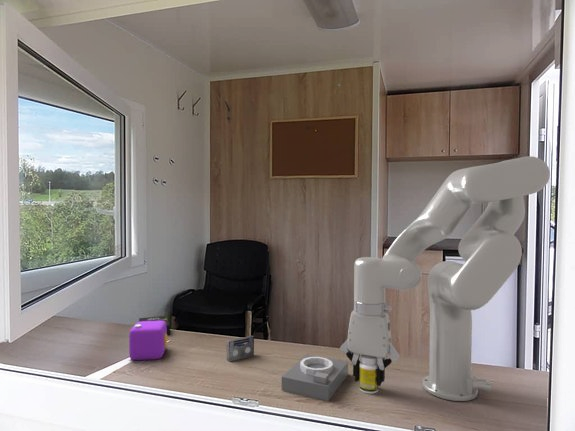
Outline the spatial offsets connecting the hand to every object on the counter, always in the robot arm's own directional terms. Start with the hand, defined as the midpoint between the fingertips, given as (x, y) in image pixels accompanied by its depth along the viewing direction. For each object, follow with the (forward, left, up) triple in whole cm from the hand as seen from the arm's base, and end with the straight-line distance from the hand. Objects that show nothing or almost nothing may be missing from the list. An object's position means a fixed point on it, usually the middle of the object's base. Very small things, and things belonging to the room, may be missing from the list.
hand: (368, 380), depth 96 cm
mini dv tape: (+39, -3, -2) cm, 39 cm away
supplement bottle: (0, 0, -2) cm, 2 cm away
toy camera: (+66, +6, -2) cm, 66 cm away
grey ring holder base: (+13, +2, -2) cm, 13 cm away
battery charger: (+80, -10, -3) cm, 80 cm away
